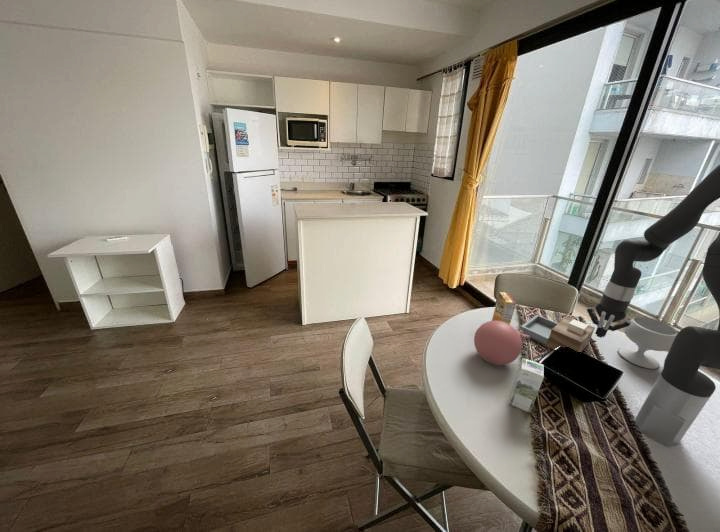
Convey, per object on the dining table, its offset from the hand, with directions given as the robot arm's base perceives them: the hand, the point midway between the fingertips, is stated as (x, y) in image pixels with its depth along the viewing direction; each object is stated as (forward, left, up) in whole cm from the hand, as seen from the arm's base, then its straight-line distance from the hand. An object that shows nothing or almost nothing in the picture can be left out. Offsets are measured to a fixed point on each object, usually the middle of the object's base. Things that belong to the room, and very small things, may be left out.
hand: (599, 336), depth 107 cm
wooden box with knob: (0, +8, -9) cm, 12 cm away
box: (0, +18, -9) cm, 20 cm away
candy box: (-12, +30, -9) cm, 34 cm away
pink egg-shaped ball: (-32, +20, -9) cm, 39 cm away
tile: (0, +7, -1) cm, 7 cm away
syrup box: (-46, +6, -9) cm, 47 cm away
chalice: (+13, -12, -9) cm, 20 cm away
